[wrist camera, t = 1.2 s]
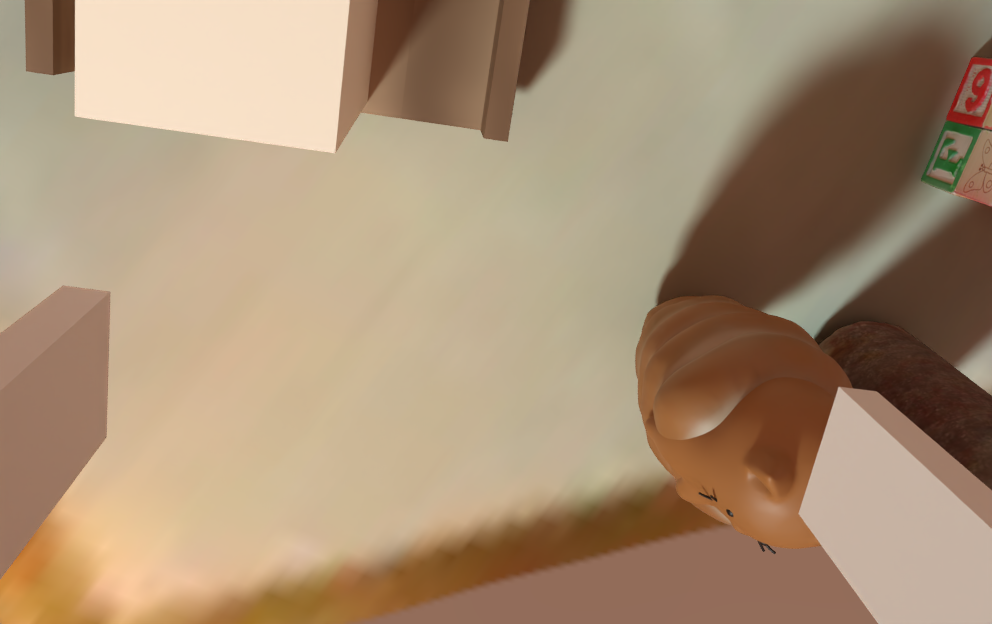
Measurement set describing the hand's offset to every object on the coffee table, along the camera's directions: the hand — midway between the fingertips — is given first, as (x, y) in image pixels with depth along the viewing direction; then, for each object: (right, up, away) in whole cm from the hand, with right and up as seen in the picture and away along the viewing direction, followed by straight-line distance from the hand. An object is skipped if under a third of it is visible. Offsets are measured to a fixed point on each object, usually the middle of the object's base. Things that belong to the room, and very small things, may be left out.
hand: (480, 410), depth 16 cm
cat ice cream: (+9, +1, +29) cm, 30 cm away
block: (-8, +15, +20) cm, 27 cm away
